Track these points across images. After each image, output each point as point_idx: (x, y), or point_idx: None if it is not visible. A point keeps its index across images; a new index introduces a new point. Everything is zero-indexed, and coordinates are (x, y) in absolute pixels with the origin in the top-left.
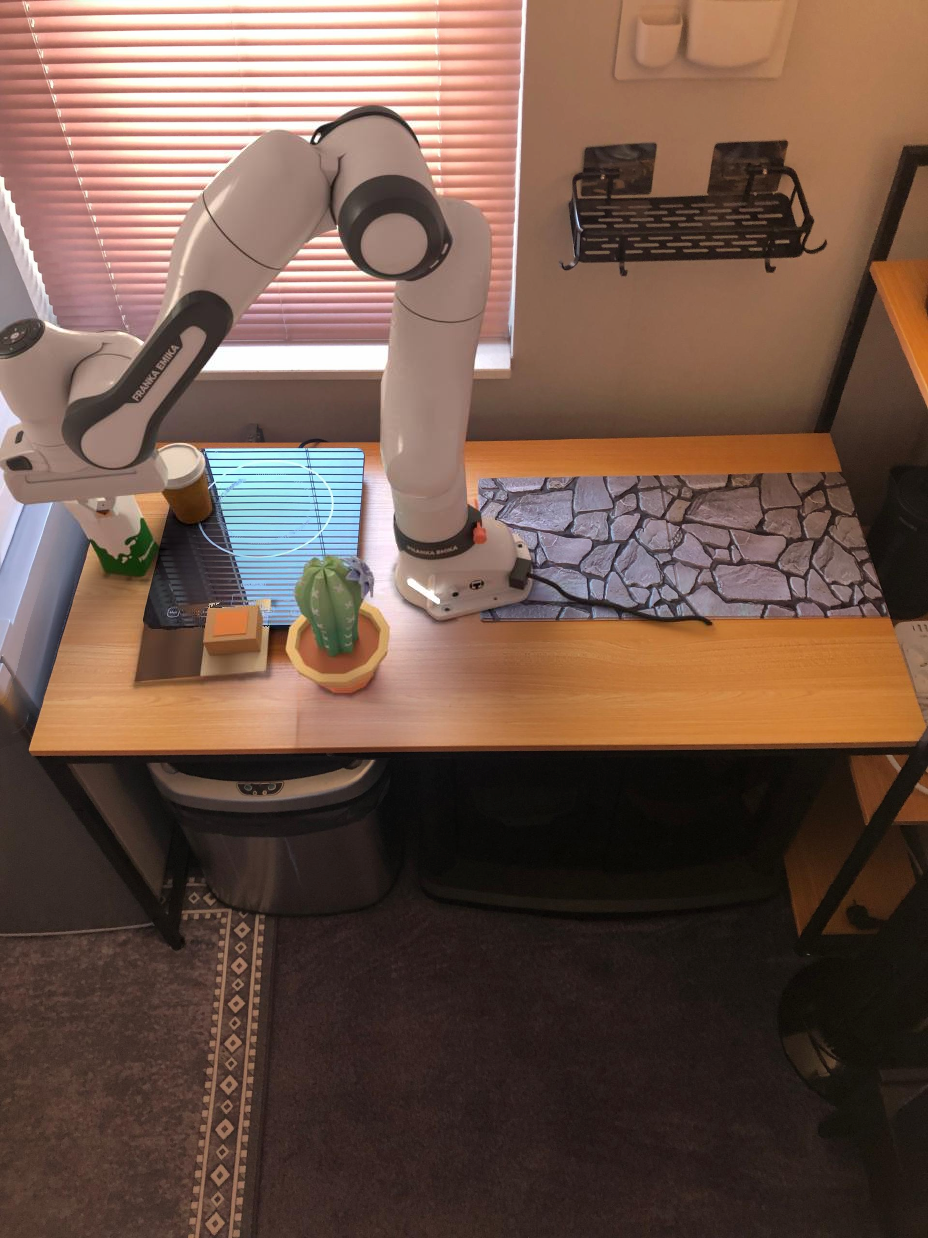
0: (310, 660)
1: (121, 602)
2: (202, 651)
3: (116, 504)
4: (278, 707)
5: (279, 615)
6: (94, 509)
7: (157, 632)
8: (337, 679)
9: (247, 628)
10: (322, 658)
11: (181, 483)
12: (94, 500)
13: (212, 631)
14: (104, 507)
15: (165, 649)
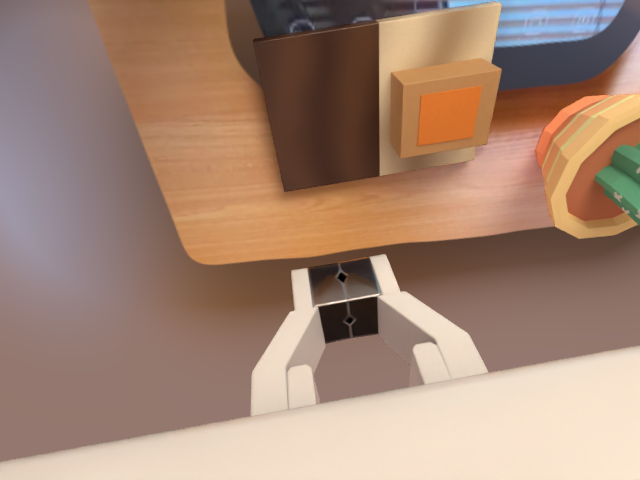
0: (575, 202)
1: (180, 10)
2: (378, 135)
3: (391, 271)
4: (477, 197)
5: (502, 35)
6: (321, 351)
7: (293, 101)
8: (605, 234)
9: (475, 126)
10: (593, 197)
11: None
12: (312, 332)
13: (415, 136)
14: (358, 327)
15: (317, 135)
